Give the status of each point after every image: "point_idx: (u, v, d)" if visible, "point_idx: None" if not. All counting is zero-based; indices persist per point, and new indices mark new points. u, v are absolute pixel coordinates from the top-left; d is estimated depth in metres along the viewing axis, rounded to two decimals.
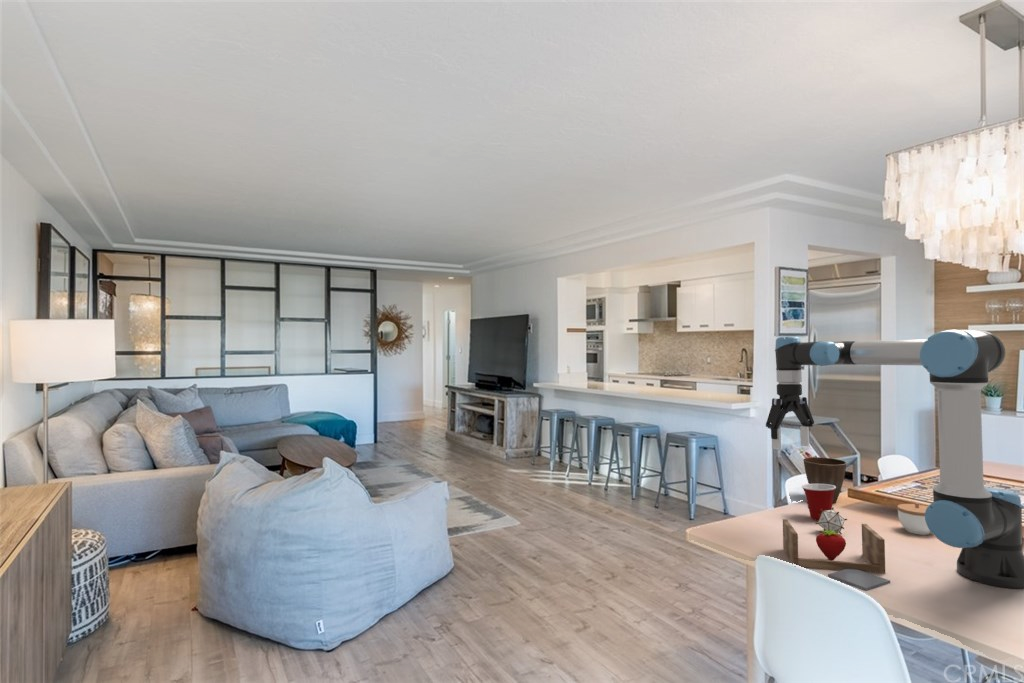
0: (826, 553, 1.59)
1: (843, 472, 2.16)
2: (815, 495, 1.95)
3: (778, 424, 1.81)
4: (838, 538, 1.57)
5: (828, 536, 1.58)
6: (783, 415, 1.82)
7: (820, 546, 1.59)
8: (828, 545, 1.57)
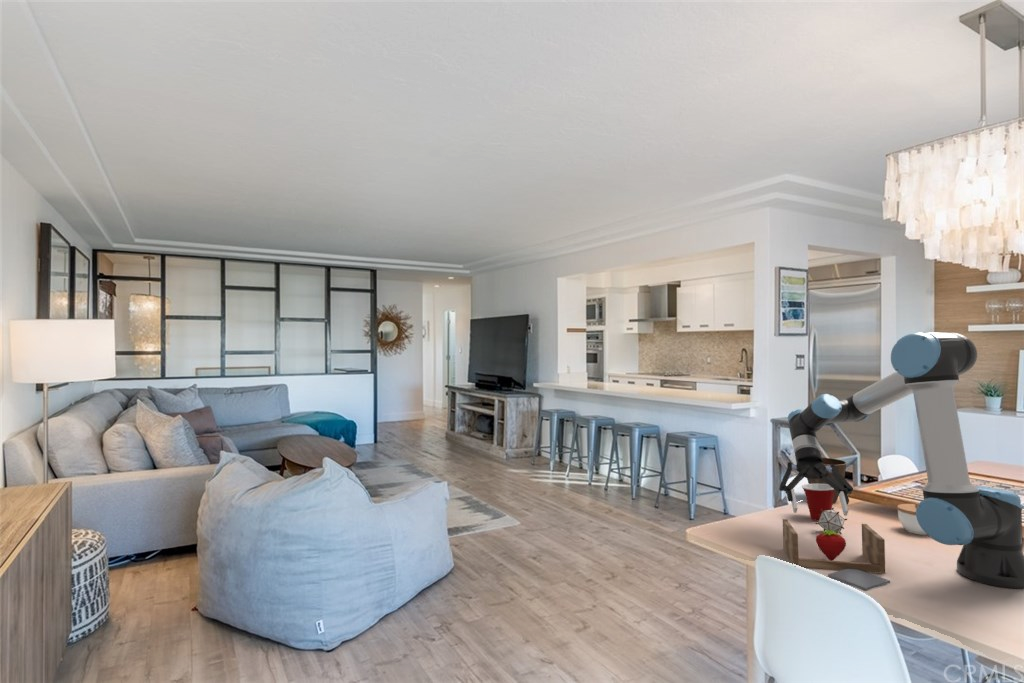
0: (826, 553, 1.59)
1: (843, 472, 2.16)
2: (815, 495, 1.95)
3: (790, 484, 1.74)
4: (838, 538, 1.57)
5: (828, 536, 1.58)
6: (797, 477, 1.75)
7: (820, 546, 1.59)
8: (828, 545, 1.57)
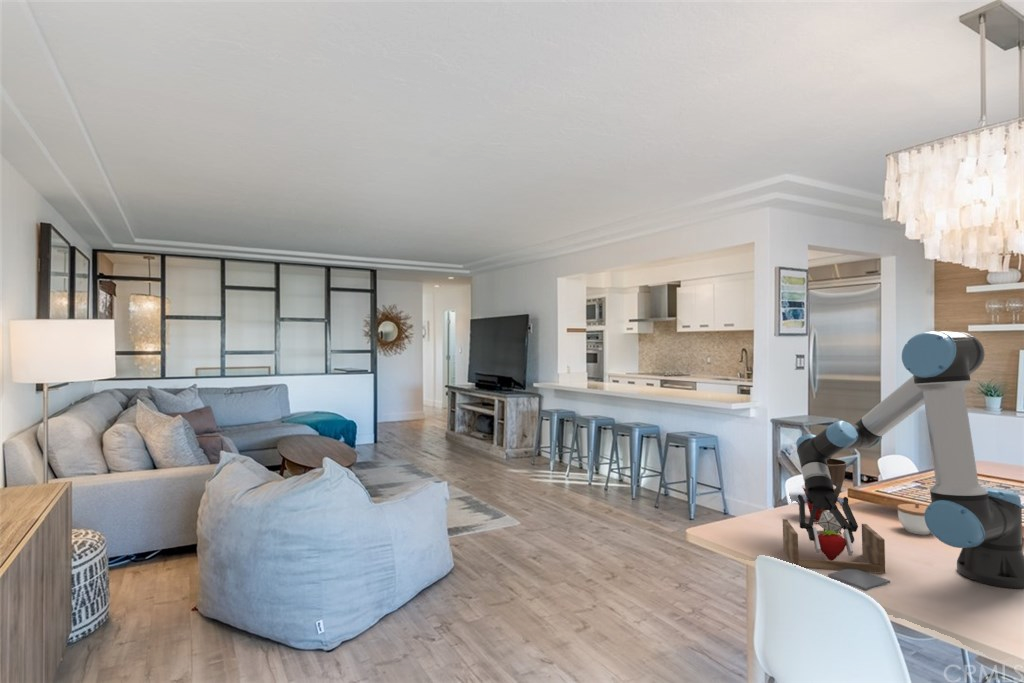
0: (826, 553, 1.59)
1: (843, 472, 2.16)
2: None
3: (811, 521, 1.62)
4: (838, 538, 1.57)
5: (828, 536, 1.58)
6: (814, 511, 1.64)
7: (820, 546, 1.59)
8: (828, 545, 1.57)
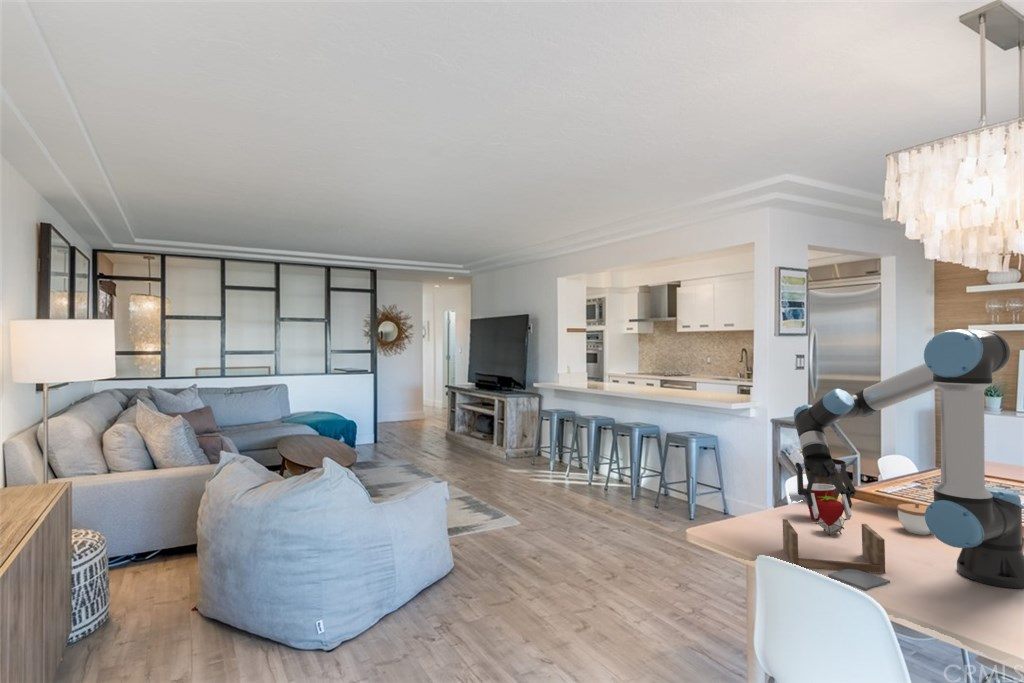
0: (824, 518, 1.59)
1: None
2: (815, 495, 1.95)
3: (808, 487, 1.63)
4: (836, 503, 1.58)
5: (826, 501, 1.59)
6: (811, 477, 1.65)
7: (818, 511, 1.60)
8: (826, 509, 1.58)
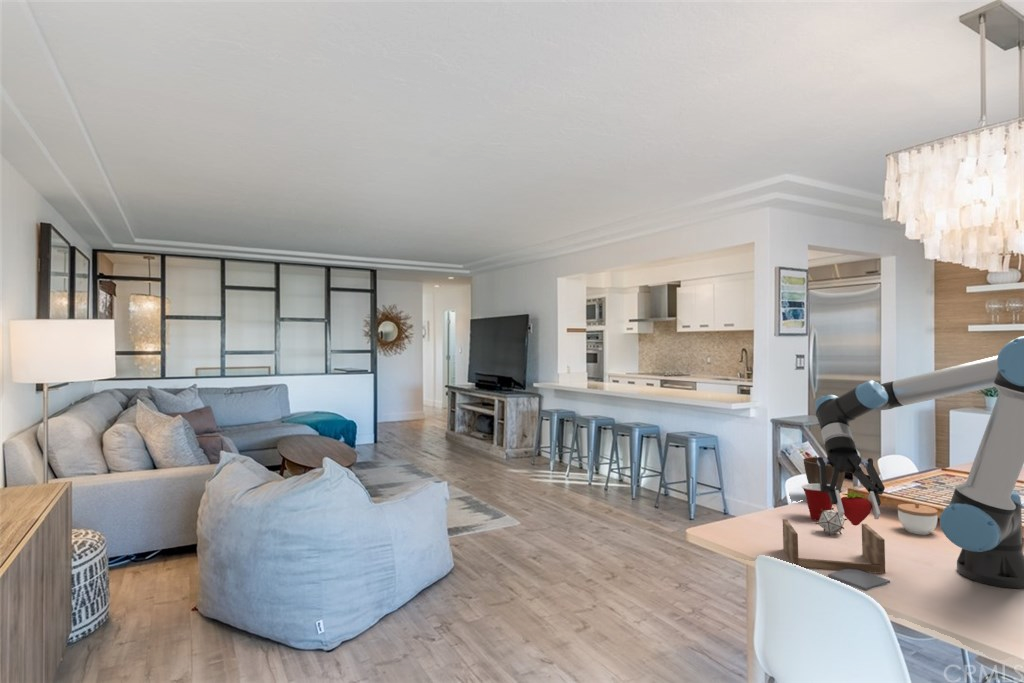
0: (850, 517, 1.46)
1: (843, 472, 2.16)
2: (815, 495, 1.95)
3: (832, 484, 1.50)
4: (863, 501, 1.45)
5: (852, 499, 1.46)
6: (836, 473, 1.52)
7: None
8: (852, 508, 1.45)
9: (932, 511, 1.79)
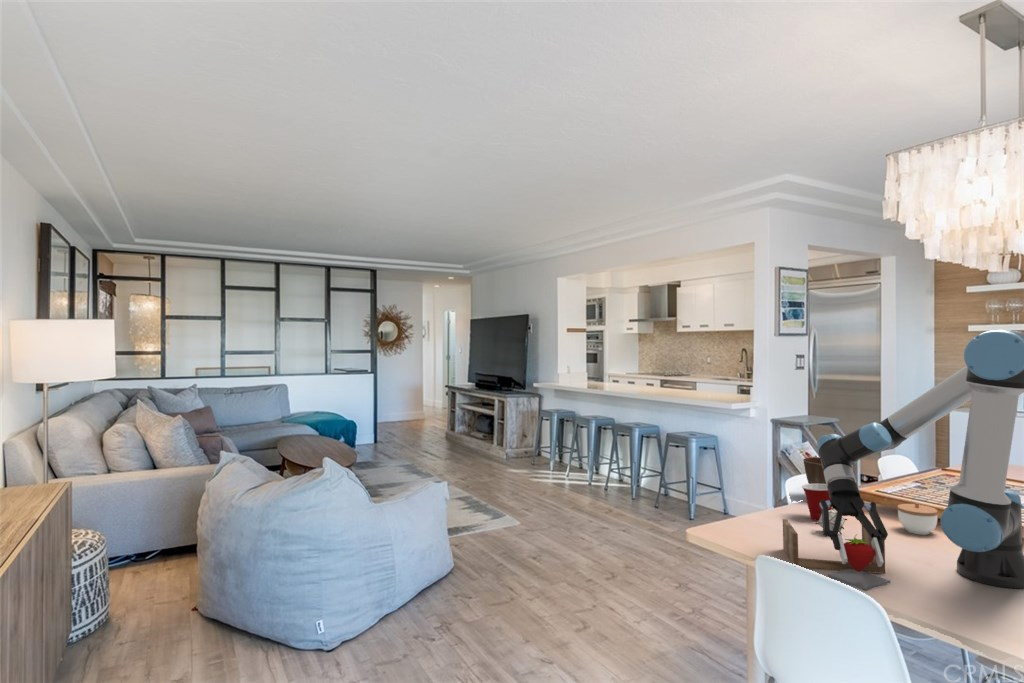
0: (853, 564, 1.45)
1: None
2: (815, 495, 1.95)
3: (835, 529, 1.49)
4: (866, 548, 1.44)
5: (855, 545, 1.45)
6: (838, 517, 1.51)
7: None
8: (855, 554, 1.44)
9: (932, 511, 1.79)
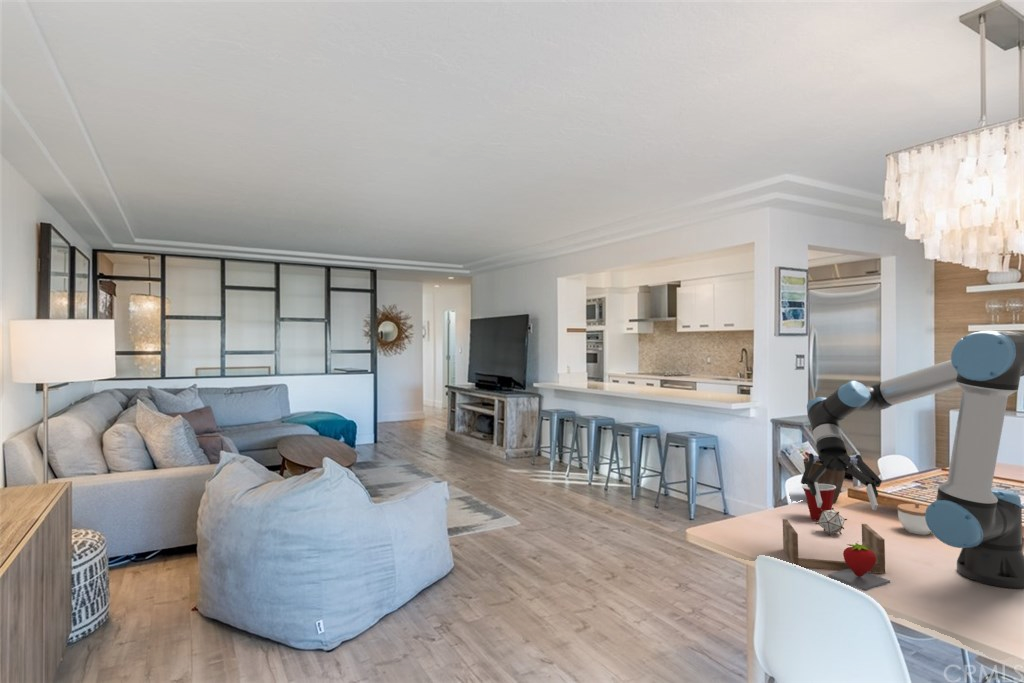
0: (854, 569, 1.45)
1: (843, 472, 2.16)
2: None
3: (813, 477, 1.60)
4: (868, 554, 1.44)
5: (857, 551, 1.45)
6: (820, 469, 1.62)
7: (848, 561, 1.46)
8: (857, 560, 1.44)
9: None
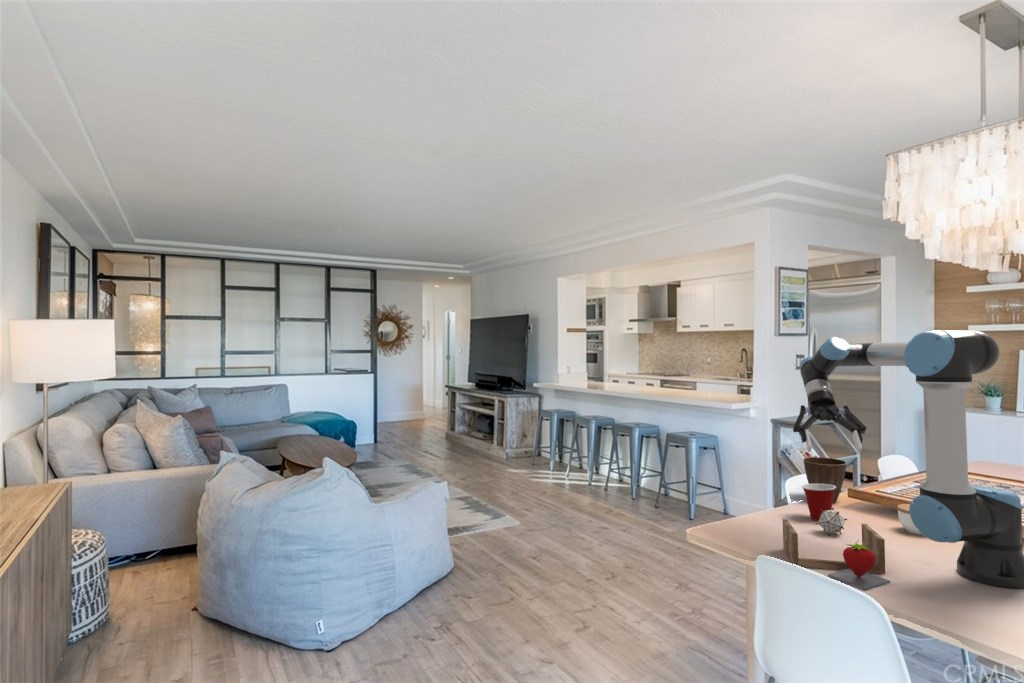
0: (854, 569, 1.45)
1: (843, 472, 2.16)
2: (815, 495, 1.95)
3: (804, 425, 1.76)
4: (868, 553, 1.44)
5: (857, 551, 1.45)
6: (811, 418, 1.77)
7: (848, 561, 1.46)
8: (857, 560, 1.44)
9: None
